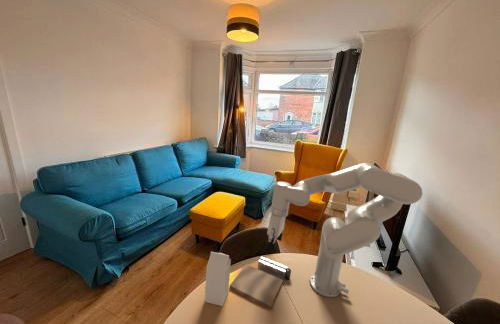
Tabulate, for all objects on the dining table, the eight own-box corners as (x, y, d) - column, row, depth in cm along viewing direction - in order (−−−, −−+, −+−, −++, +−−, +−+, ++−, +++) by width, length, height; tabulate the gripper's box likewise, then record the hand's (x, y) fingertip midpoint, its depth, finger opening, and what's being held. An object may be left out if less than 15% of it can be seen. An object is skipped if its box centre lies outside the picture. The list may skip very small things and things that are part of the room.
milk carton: (222, 306, 77) (226, 261, 73) (204, 302, 78) (207, 257, 74) (228, 291, 84) (231, 249, 80) (211, 287, 85) (214, 246, 81)
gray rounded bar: (291, 276, 95) (292, 268, 95) (288, 281, 92) (289, 274, 91) (261, 263, 102) (261, 256, 101) (257, 268, 98) (258, 261, 97)
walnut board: (282, 282, 91) (283, 279, 91) (270, 309, 78) (270, 305, 77) (246, 266, 99) (246, 264, 98) (229, 288, 85) (229, 285, 85)
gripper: (278, 201, 100) (273, 233, 104) (264, 214, 85) (259, 251, 88) (293, 205, 97) (287, 238, 101) (281, 220, 82) (275, 258, 85)
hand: (274, 244), depth 95 cm, fingers open, 9 cm apart
